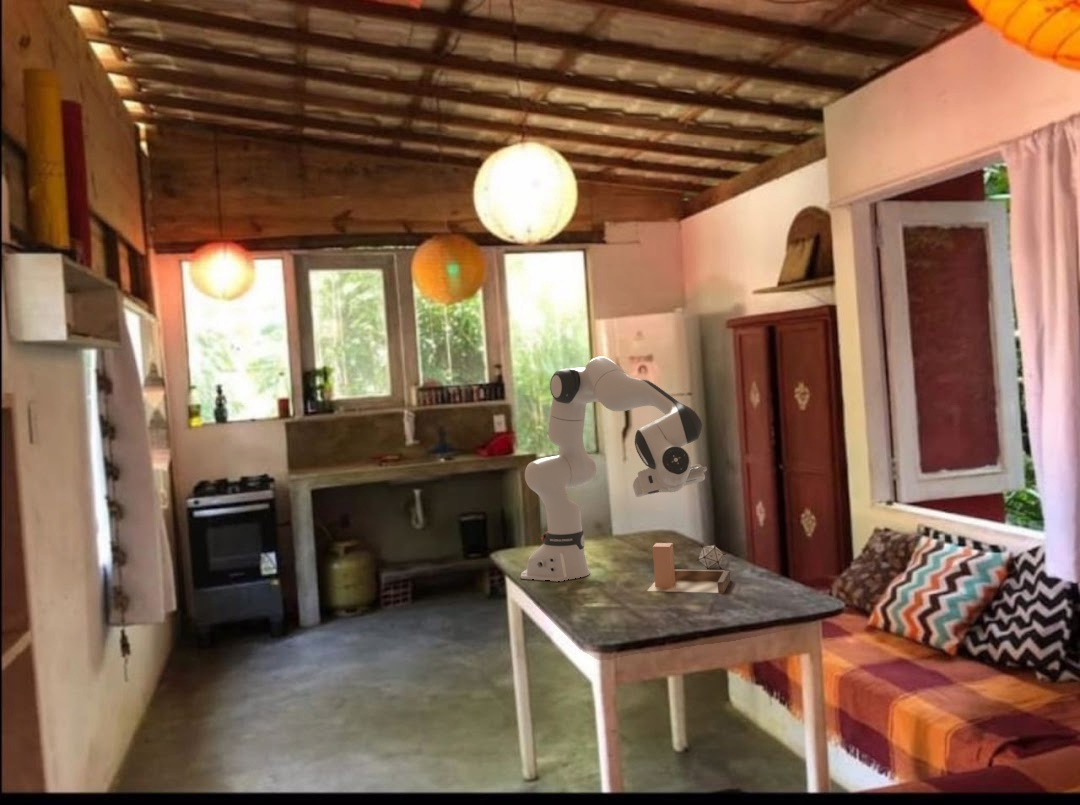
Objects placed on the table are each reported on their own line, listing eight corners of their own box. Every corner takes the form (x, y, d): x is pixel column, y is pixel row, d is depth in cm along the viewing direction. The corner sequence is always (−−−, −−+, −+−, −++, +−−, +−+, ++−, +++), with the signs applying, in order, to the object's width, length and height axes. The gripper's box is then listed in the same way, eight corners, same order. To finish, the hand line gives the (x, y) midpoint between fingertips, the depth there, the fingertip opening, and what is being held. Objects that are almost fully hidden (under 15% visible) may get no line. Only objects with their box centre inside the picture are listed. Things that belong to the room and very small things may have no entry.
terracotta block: (655, 587, 249) (652, 546, 249) (658, 582, 254) (656, 543, 253) (672, 587, 247) (669, 546, 247) (675, 583, 252) (672, 543, 252)
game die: (717, 581, 268) (726, 560, 262) (691, 572, 270) (699, 551, 264) (722, 562, 275) (730, 541, 269) (696, 553, 277) (704, 532, 271)
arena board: (647, 594, 245) (646, 580, 245) (657, 582, 258) (656, 569, 258) (723, 596, 238) (723, 582, 238) (730, 583, 251) (729, 570, 251)
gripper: (704, 455, 233) (698, 468, 246) (632, 473, 233) (630, 485, 246) (711, 477, 231) (705, 489, 244) (638, 495, 231) (636, 506, 244)
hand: (667, 487), depth 245 cm, fingers open, 8 cm apart
